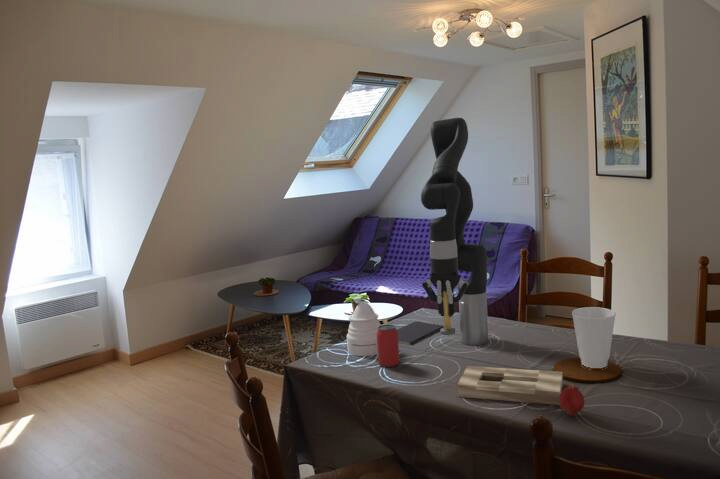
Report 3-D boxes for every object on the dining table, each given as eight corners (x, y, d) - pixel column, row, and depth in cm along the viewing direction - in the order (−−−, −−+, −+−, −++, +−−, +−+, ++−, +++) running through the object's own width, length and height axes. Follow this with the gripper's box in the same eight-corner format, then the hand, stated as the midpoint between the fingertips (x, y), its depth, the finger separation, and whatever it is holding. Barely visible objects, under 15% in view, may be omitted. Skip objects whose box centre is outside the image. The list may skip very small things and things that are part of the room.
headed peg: (442, 330, 177) (439, 286, 175) (456, 330, 175) (454, 286, 173) (438, 334, 173) (436, 289, 171) (453, 335, 171) (451, 290, 169)
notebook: (410, 346, 209) (444, 329, 225) (410, 342, 209) (443, 325, 225) (381, 341, 217) (415, 325, 233) (380, 336, 217) (415, 321, 233)
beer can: (398, 367, 188) (395, 330, 187) (377, 367, 190) (374, 330, 188) (400, 360, 195) (398, 323, 193) (380, 360, 196) (378, 324, 194)
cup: (622, 363, 179) (622, 310, 177) (606, 376, 171) (606, 320, 168) (582, 356, 187) (581, 305, 185) (565, 367, 179) (564, 314, 176)
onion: (555, 411, 151) (554, 380, 150) (578, 409, 151) (577, 378, 150) (565, 421, 145) (564, 389, 144) (588, 419, 146) (588, 387, 145)
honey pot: (341, 355, 204) (337, 302, 201) (355, 342, 216) (351, 292, 213) (378, 357, 199) (374, 303, 197) (390, 344, 211) (386, 293, 209)
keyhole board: (467, 377, 177) (467, 366, 176) (562, 383, 167) (562, 371, 167) (457, 396, 164) (457, 384, 163) (560, 404, 155) (559, 392, 154)
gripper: (471, 252, 172) (473, 312, 174) (423, 253, 177) (426, 311, 179) (465, 258, 165) (468, 320, 167) (416, 258, 170) (419, 318, 172)
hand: (446, 315), depth 173 cm, fingers closed on headed peg, 2 cm apart
